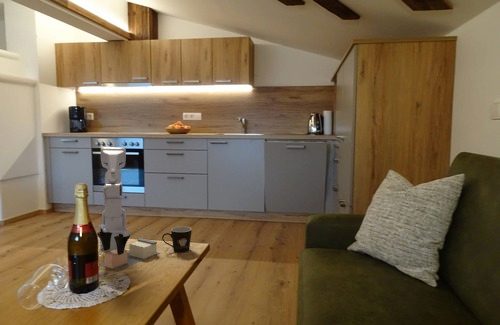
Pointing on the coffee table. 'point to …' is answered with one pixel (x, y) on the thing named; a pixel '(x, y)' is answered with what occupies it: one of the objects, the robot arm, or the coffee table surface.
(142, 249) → the pad
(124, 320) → the coffee table surface
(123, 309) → the coffee table surface
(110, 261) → the stub
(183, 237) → the coffee mug
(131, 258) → the mat
